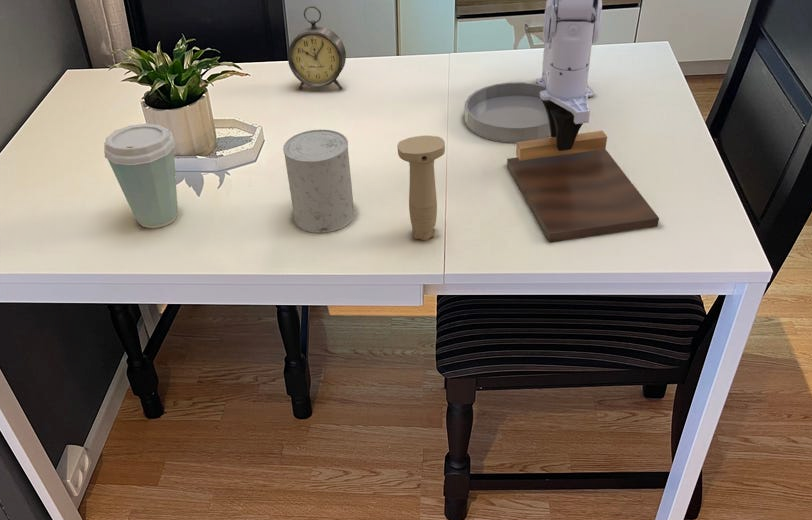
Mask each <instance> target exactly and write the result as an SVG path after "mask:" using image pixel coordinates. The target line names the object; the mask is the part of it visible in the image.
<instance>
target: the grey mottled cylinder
mask: <svg viewBox="0 0 812 520" xmlns="http://www.w3.org/2000/svg"><path fill="white" fill-rule="evenodd" d="M282 151H283V154H284V162H285V167H286V173H287V180H288V186H289V193H290V199H291V200H290V201H291V207H292V214H293V221H294V223H295V225H296V226H297V227H298V228H299V229H301V230H303V231H304V232H307V233H312V234H313V233H314V234H327V233H333V232H335V231H339V230H341V229H343V228H345V227H347V226H348V225H349V224H351V223H352V221H353V220H354V218H355V215H356V213H355V207H354V196H353V185H352V175H351V166H350V156H349V155H350V154H349V140H348V139H347V137H346V136H345V135H344V134H343V133H342V132H339V131H337V130H332V129H311V130H306V131H302V132H299V133H297V134H295V135H293V136H290V137H289V138H288V139H287V140H286V141H285V142H284V145H283V147H282Z"/></svg>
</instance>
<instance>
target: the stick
mask: <svg viewBox="0 0 812 520" xmlns="http://www.w3.org/2000/svg"><path fill="white" fill-rule="evenodd" d="M607 142H608V136H607V134H606V133H605V132H604V130H597V131H596V130H595V131H589V132H582V133H578V134H577V136H576V139H575V141H574V144H573V146H572V149H570V150H563V151H559V150H558V148H557V143H556V137H551V136H550V137H547V138H544V139H536V140H529V141H522V142H517V143H515V144H516V146H515V147H516V148H515V155H516V157H518V158H519V160H520V161H521V160H529V159H536V158H543V157H551V156H558V155H565V154H572V153H580V152H587V151H594V150H601V149H606V150H607Z"/></svg>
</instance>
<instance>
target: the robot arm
mask: <svg viewBox="0 0 812 520" xmlns="http://www.w3.org/2000/svg"><path fill="white" fill-rule="evenodd" d="M602 9H603V1H602V0H546V3H545V10H544V16H543V25H542V26H543V27H542V28H543V29H542V42H544V44H545V45H544V47H543V48H544V49H543V55H542V69H541V78H536V84H539V85H544V86H547V88H546V90H545V91H541V92H540V97H541V99H542V102H543V104H544V106H545V109H546V112H547V115H548V119H549V126H550V133H551V136H550V138H551V137H556V143H557V148H558V150H559V151H563V150H570V149H572V146H573V144H574V141H575V139H576V136H577V134H579V131H580V129H581V128H582V126H583V125H584V124H587V123H589V122H590V116H591V110H590V109H589V105H588V103H589V101H588V100H589V99H588V98H589V97H590V98H591V97H593V96H594V93H593V91H592V89H590V88H589V87H588V79H589V71H590V63H591V55H592V45H596V44H597V43H598V42H599V40H600V35H601V28H602V27H601V26H602V18H603V17H602V16H603V10H602Z"/></svg>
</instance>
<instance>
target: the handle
mask: <svg viewBox="0 0 812 520" xmlns="http://www.w3.org/2000/svg"><path fill="white" fill-rule="evenodd" d="M445 151H446V142H445V140H444V139H443V137H441V136H438V135H437V136H436V135H417V136H411V137H406V138H405V139H402V140H400V141H399V142H398V143H397V156H398V157H399V158H400V159H401V161H405V162H408V163H409V165H408V166H409V187H408V188H409V189H408V210H409V219H410V223H411V229H412V233H413V238H414V239H416V240H422V241H423V242H424V241H425V242H426V241H429V239H431V238H434V236H435V235H436V228H435V227H436V223H437V218H438V217H437V215H438V199H437V197H438V196H437V189H436V188H437V187H436V177H435V176H436V175H435V161H436V160H437V159H439V158H441V157H443V156H444V154H445Z"/></svg>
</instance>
